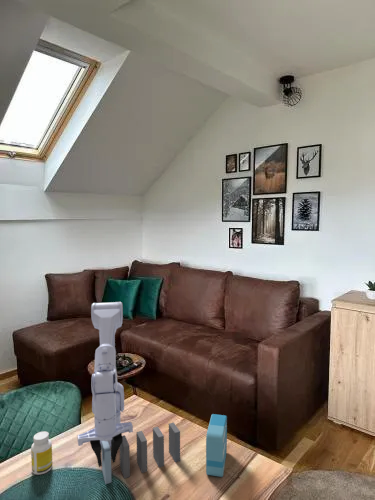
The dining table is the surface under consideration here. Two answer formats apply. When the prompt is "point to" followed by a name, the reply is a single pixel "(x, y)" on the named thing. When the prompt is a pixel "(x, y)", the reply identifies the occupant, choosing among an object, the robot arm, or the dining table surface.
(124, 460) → the domino
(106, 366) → the robot arm
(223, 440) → the data package
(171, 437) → the domino
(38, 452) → the supplement bottle
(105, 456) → the slate domino
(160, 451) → the domino
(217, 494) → the dining table surface
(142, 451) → the domino
